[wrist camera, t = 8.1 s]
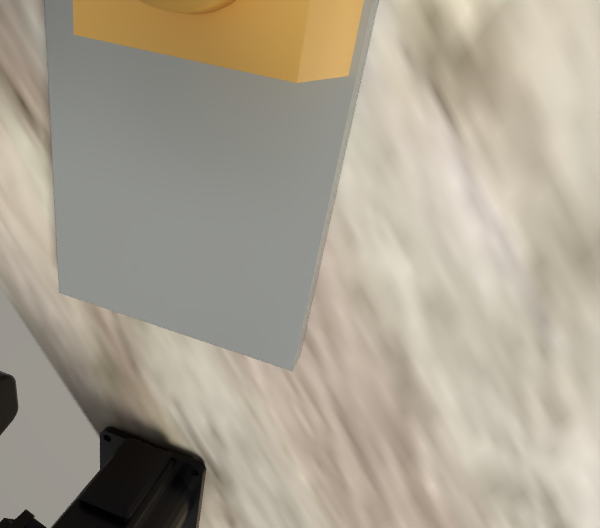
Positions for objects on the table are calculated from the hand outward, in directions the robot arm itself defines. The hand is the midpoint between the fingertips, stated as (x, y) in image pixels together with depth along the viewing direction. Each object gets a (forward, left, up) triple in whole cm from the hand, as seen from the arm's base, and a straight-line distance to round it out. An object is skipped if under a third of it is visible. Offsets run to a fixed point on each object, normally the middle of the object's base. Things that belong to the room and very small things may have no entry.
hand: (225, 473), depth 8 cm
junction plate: (+3, +7, -12) cm, 14 cm away
